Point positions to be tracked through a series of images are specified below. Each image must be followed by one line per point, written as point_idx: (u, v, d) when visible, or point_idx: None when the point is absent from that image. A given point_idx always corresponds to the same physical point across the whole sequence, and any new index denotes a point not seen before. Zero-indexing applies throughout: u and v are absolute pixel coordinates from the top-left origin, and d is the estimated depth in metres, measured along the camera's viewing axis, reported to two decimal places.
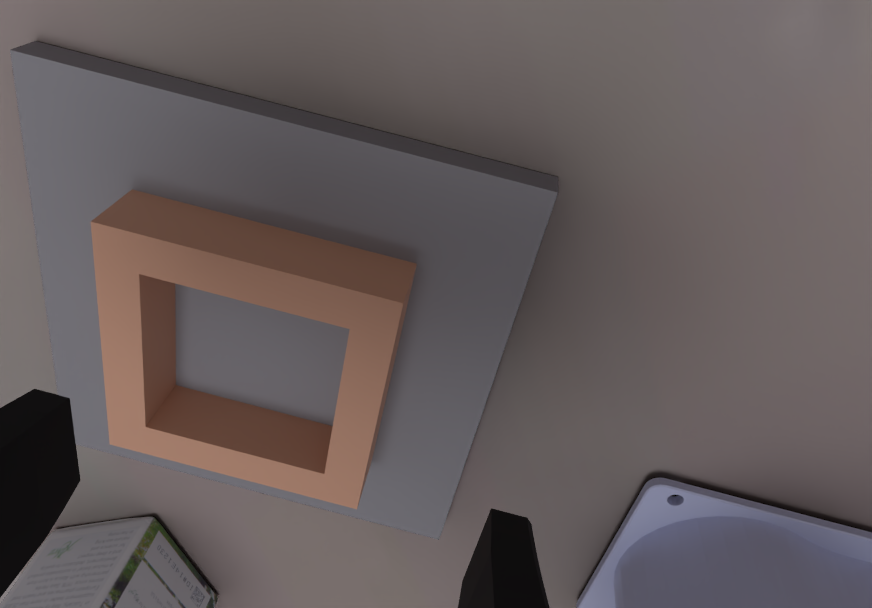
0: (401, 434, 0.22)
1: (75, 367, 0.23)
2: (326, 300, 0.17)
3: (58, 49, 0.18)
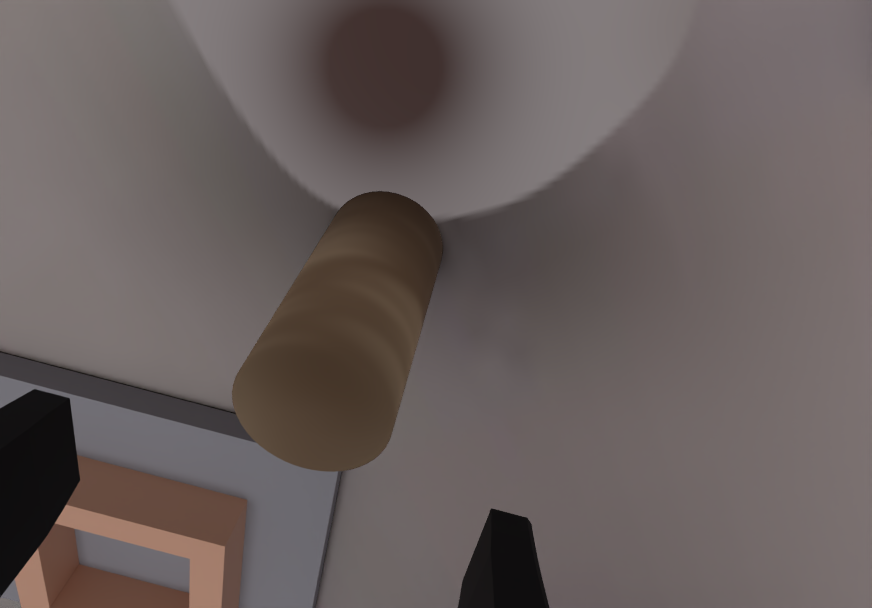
0: (256, 605, 0.28)
1: None
2: (169, 541, 0.23)
3: None
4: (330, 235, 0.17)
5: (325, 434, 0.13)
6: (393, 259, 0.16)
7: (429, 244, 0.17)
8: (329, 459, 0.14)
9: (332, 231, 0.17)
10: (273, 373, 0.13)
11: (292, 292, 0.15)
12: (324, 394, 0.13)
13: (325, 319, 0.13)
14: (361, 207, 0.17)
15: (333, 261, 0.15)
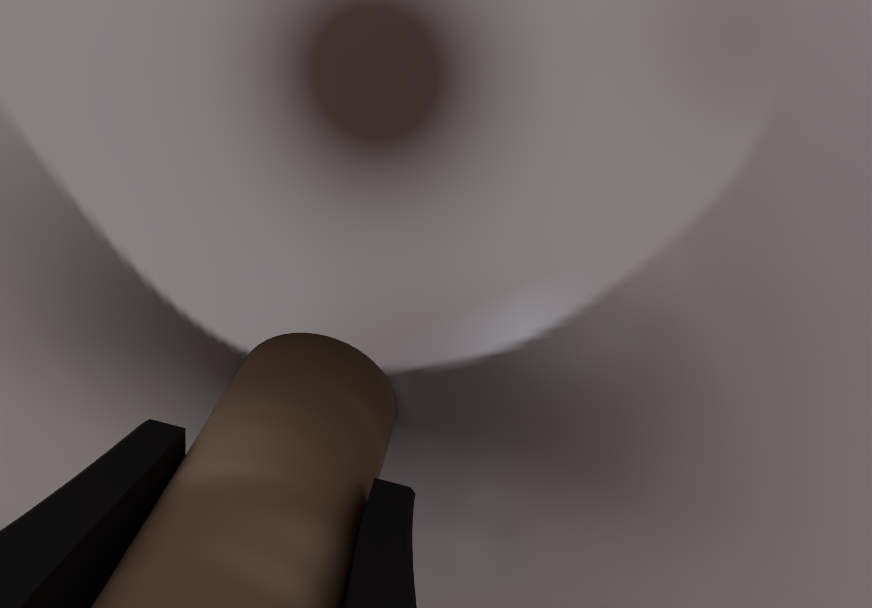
0: None
1: None
2: None
3: None
4: (218, 419, 0.11)
5: None
6: (306, 472, 0.10)
7: (371, 418, 0.12)
8: None
9: (223, 410, 0.11)
10: None
11: (133, 552, 0.09)
12: None
13: None
14: (272, 365, 0.12)
15: (206, 490, 0.10)
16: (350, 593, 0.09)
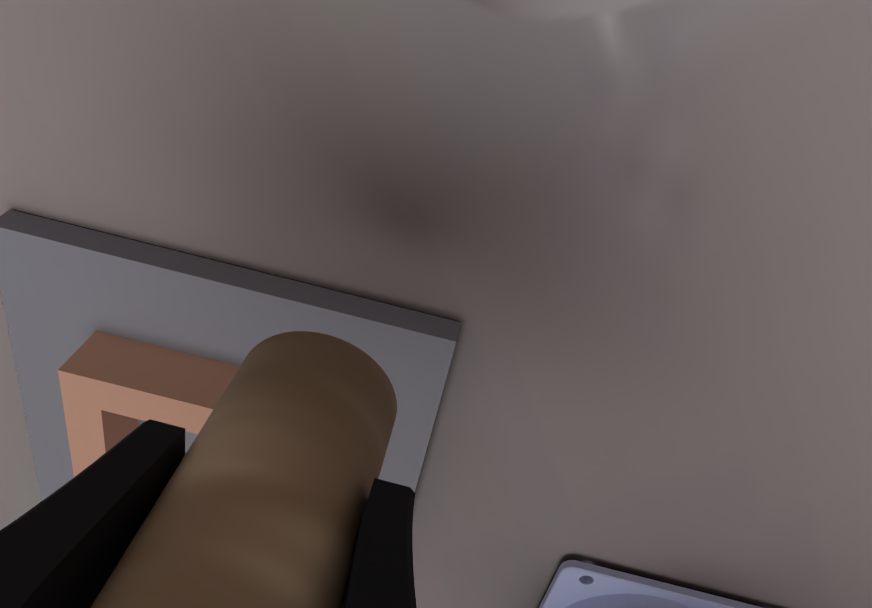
0: None
1: (54, 466, 0.25)
2: None
3: (29, 218, 0.20)
4: (219, 417, 0.11)
5: None
6: (307, 471, 0.10)
7: (372, 416, 0.12)
8: None
9: (224, 408, 0.11)
10: None
11: (133, 550, 0.09)
12: None
13: None
14: (273, 363, 0.12)
15: (207, 488, 0.10)
16: (350, 593, 0.09)
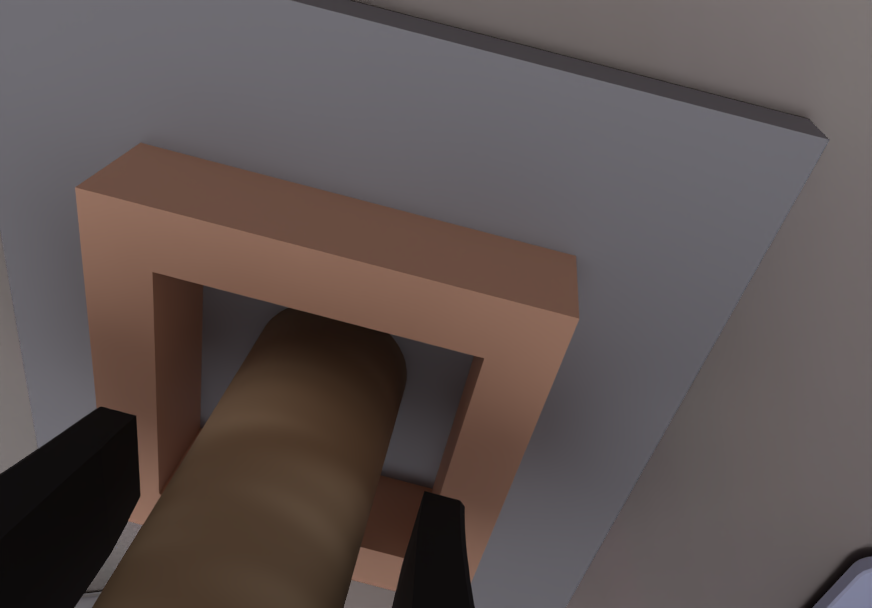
0: (518, 498, 0.16)
1: (60, 403, 0.16)
2: (452, 313, 0.11)
3: None
4: (245, 377, 0.12)
5: None
6: (329, 425, 0.11)
7: (385, 382, 0.13)
8: None
9: (249, 369, 0.12)
10: None
11: (171, 491, 0.10)
12: None
13: (203, 569, 0.08)
14: (293, 330, 0.13)
15: (238, 438, 0.10)
16: None
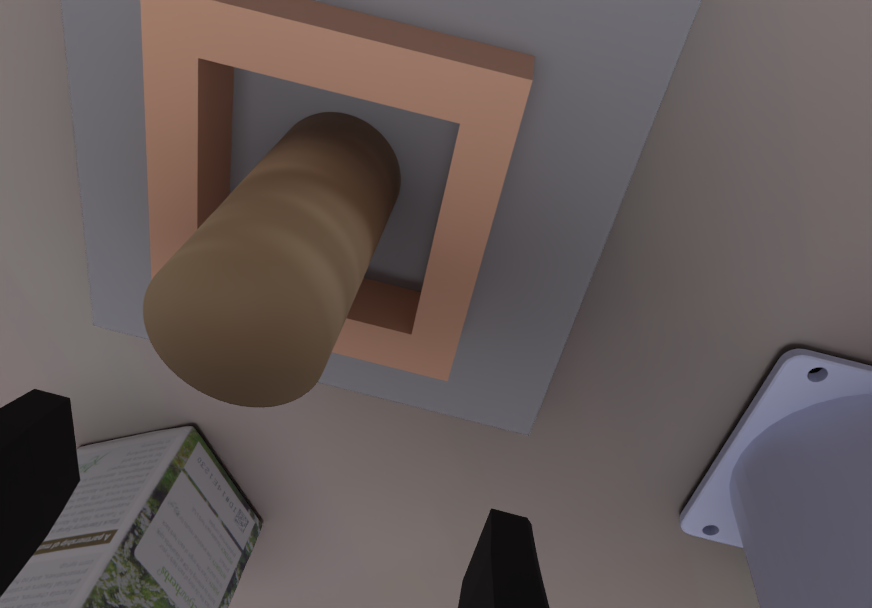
0: (495, 297, 0.19)
1: (109, 225, 0.19)
2: (434, 82, 0.14)
3: None
4: (270, 153, 0.15)
5: (251, 361, 0.12)
6: (338, 175, 0.14)
7: (383, 168, 0.16)
8: (258, 392, 0.12)
9: (273, 149, 0.15)
10: (188, 288, 0.11)
11: (219, 206, 0.13)
12: (247, 312, 0.11)
13: (250, 227, 0.11)
14: (308, 126, 0.16)
15: (268, 174, 0.13)
16: None
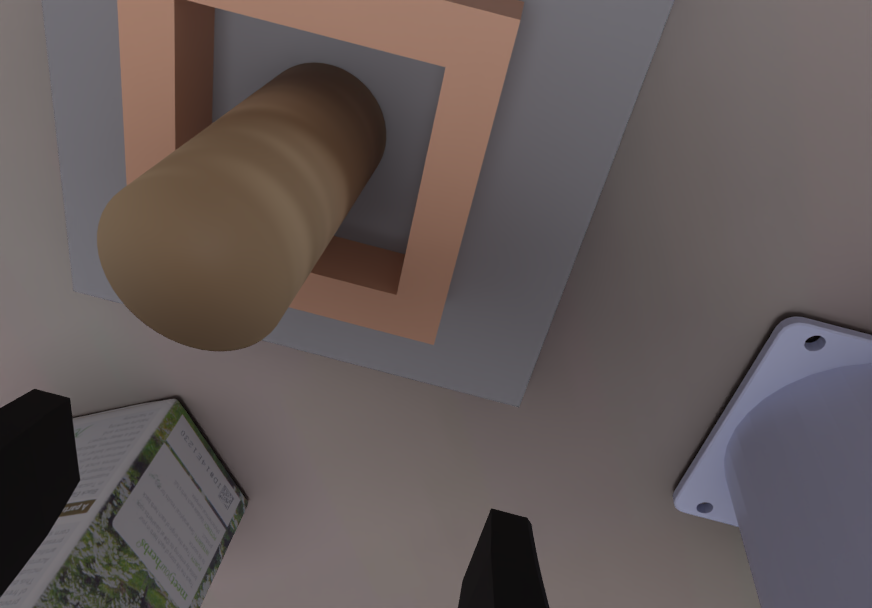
0: (484, 260, 0.18)
1: (88, 184, 0.19)
2: (418, 22, 0.13)
3: None
4: (246, 98, 0.14)
5: (210, 300, 0.11)
6: (313, 117, 0.13)
7: (365, 118, 0.15)
8: (218, 333, 0.12)
9: (250, 95, 0.15)
10: (141, 217, 0.11)
11: None
12: (203, 245, 0.11)
13: (208, 156, 0.11)
14: (288, 74, 0.15)
15: (238, 112, 0.13)
16: None
